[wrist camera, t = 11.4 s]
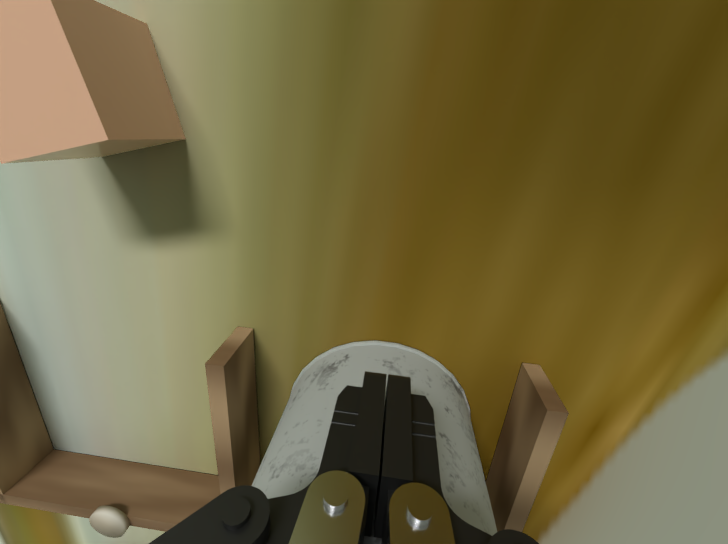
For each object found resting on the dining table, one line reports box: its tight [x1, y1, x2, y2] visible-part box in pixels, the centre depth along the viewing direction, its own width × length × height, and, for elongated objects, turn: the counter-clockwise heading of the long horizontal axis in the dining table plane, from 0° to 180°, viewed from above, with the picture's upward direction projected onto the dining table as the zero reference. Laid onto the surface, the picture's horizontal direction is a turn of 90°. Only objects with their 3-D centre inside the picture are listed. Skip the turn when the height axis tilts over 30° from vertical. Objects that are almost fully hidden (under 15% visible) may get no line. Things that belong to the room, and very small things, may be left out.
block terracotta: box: [0, 0, 186, 164], centre depth 12 cm, size 4×4×4 cm
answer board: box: [0, 303, 569, 538], centre depth 18 cm, size 12×28×3 cm, turn 86°
